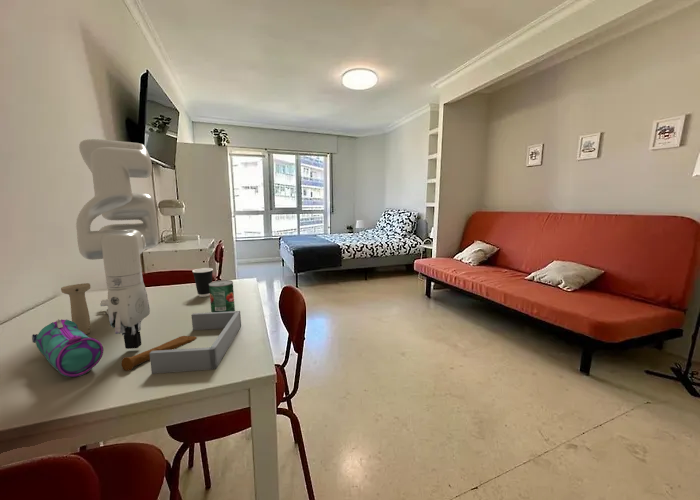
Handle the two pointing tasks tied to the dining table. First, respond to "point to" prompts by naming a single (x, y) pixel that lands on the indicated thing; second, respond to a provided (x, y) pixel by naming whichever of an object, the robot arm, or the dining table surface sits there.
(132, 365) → the primitive tool
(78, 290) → the handle
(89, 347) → the pencil case
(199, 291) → the dixie cup
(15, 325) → the dining table surface
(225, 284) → the canned tomato
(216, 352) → the box
